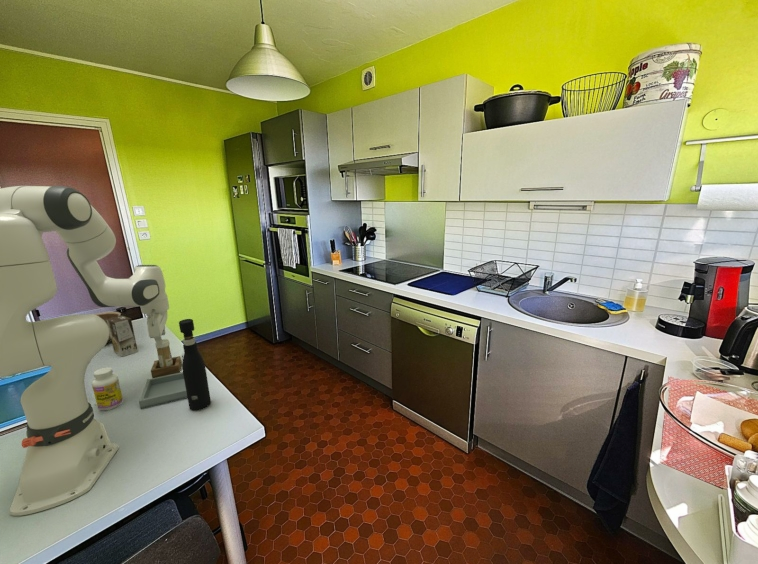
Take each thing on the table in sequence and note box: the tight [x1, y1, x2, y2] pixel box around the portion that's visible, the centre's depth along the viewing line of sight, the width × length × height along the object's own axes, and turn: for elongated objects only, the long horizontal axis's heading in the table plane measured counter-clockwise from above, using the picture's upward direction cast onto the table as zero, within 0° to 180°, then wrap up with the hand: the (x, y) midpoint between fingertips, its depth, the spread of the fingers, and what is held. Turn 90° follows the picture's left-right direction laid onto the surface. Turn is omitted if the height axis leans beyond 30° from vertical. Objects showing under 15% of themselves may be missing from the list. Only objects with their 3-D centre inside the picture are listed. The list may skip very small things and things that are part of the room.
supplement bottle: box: [91, 366, 124, 411], centre depth 107 cm, size 7×7×13 cm
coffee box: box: [107, 314, 139, 357], centre depth 145 cm, size 9×6×16 cm
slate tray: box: [138, 371, 188, 410], centre depth 115 cm, size 15×15×3 cm
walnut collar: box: [150, 355, 183, 379], centre depth 128 cm, size 9×9×4 cm
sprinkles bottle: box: [154, 338, 173, 368], centre depth 127 cm, size 5×5×13 cm
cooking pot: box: [94, 311, 122, 343], centre depth 157 cm, size 25×19×12 cm
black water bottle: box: [178, 318, 212, 412], centre depth 104 cm, size 6×6×30 cm
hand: (161, 339), depth 126 cm, fingers open, 8 cm apart
